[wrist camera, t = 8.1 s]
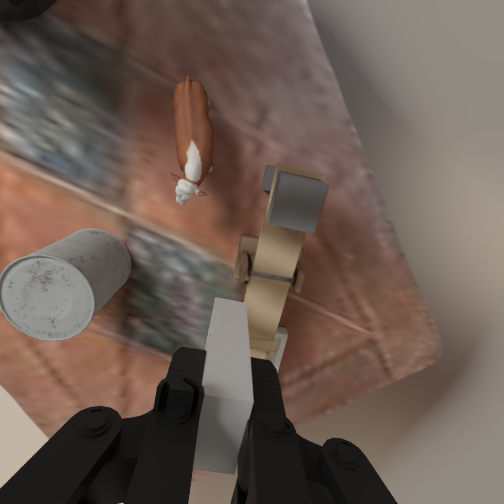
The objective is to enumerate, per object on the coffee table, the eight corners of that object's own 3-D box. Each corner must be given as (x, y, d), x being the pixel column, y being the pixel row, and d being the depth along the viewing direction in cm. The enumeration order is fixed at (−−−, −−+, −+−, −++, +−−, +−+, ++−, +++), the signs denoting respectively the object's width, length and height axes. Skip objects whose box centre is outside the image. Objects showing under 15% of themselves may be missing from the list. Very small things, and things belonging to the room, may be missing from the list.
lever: (274, 163, 36) (279, 169, 31) (323, 174, 36) (335, 181, 32) (228, 352, 45) (227, 379, 40) (268, 359, 46) (271, 386, 41)
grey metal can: (145, 256, 45) (113, 292, 33) (106, 306, 47) (63, 357, 35) (84, 213, 43) (26, 235, 31) (46, 267, 45) (-22, 307, 33)
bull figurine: (179, 197, 43) (166, 207, 35) (181, 85, 39) (168, 68, 31) (212, 200, 43) (207, 210, 35) (218, 89, 39) (213, 72, 32)
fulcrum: (242, 233, 45) (243, 247, 38) (300, 245, 46) (312, 261, 39) (233, 274, 46) (232, 294, 39) (290, 285, 47) (299, 307, 40)
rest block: (266, 164, 42) (268, 165, 40) (310, 174, 43) (315, 176, 40) (261, 187, 43) (262, 189, 41) (304, 197, 44) (308, 199, 41)
